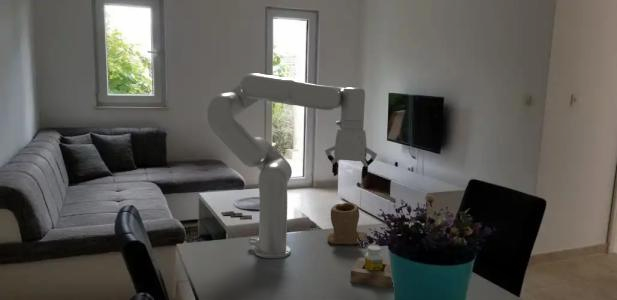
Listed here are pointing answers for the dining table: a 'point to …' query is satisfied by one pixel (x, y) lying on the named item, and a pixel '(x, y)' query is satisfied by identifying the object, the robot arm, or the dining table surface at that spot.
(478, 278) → the dining table surface
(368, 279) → the bottle holder
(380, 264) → the supplement bottle
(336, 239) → the brown hollow tube piece
